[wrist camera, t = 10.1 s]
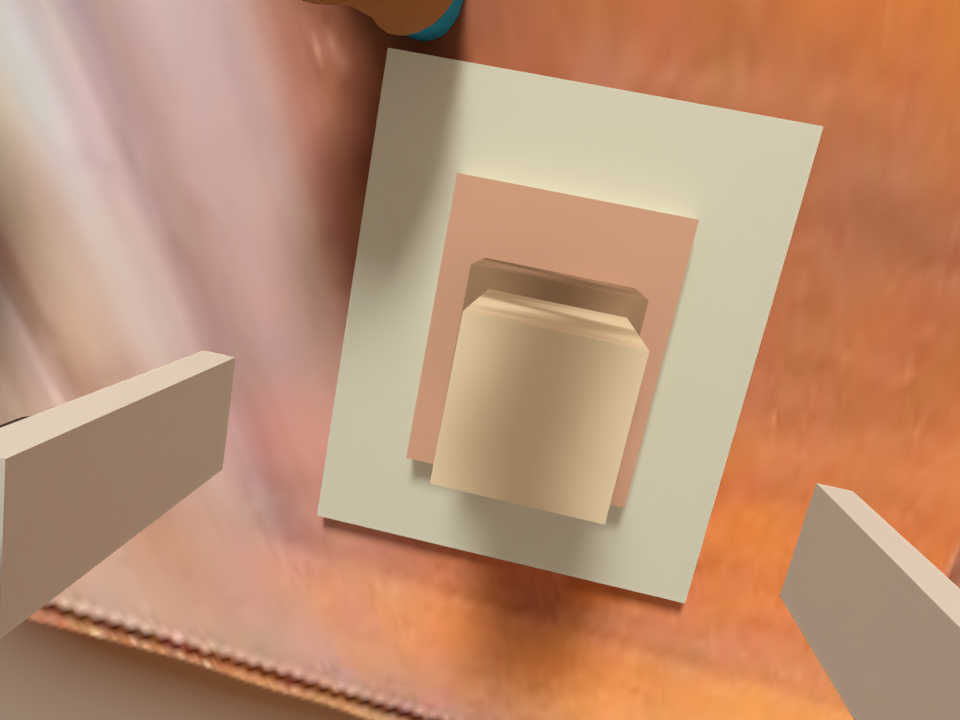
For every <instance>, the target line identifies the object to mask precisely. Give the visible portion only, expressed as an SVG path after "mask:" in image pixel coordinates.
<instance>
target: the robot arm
mask: <svg viewBox="0 0 960 720" xmlns="http://www.w3.org/2000/svg"><path fill="white" fill-rule="evenodd" d="M234 363H235V357H231V356H227V355H222V354H217V353H213V352H208V351H200V352H198V353H195V354H192V355H190V356H187V357H185V358H182V359H179V360H177V361H174V362H171V363H169V364H166V365H164V366H161V367H158V368H156V369H153V370H151V371H148V372H145V373H143V374H140V375H137V376H135V377H132V378H130V379H127V380H124V381H122V382H119V383H116V384H114V385H111V386H109V387H106V388H103V389H101V390H98V391H96V392H93V393H90V394H88V395H85V396H82V397H80V398H77V399H75V400H72V401H69V402H67V403H64V404H61V405H59V406H56V407H54V408H51V409H48V410H46V411H43V412H41V413H38V414H35V415H33V416H27V417H22V418H19V419H16V420H13V421H11V422H8V423H5V424H3V425H0V639H1V638H2V637H3V636H5V635H6V634H7V633H8V632H10V631H11V630H13V629H14V628H15V627H16V626H18V625H19V624H20V623H22V622H23V621H24V620H26V619H27V618H28V617H30V616H31V615H32V614H33V613H35V612H36V611H37V610H39V609H40V608H41V607H43V606H44V605H45V604H47V603H48V602H49V601H51V600H52V599H53V598H54V597H56V596H57V595H58V594H60V593H61V592H62V591H64V590H65V589H66V588H68V587H69V586H70V585H71V584H73V583H74V582H75V581H77V580H78V579H79V578H81V577H82V576H83V575H85V574H86V573H87V572H88V571H90V570H91V569H92V568H94V567H95V566H96V565H98V564H99V563H100V562H102V561H103V560H104V559H105V558H107V557H108V556H109V555H111V554H112V553H113V552H115V551H116V550H117V549H119V548H120V547H121V546H122V545H124V544H125V543H126V542H128V541H129V540H130V539H132V538H133V537H134V536H136V535H137V534H138V533H140V532H141V531H142V530H143V529H145V528H146V527H147V526H149V525H150V524H151V523H153V522H154V521H155V520H157V519H158V518H159V517H160V516H162V515H163V514H164V513H166V512H167V511H168V510H170V509H171V508H172V507H174V506H175V505H176V504H177V503H179V502H180V501H181V500H183V499H184V498H185V497H187V496H188V495H189V494H191V493H192V492H193V491H194V490H196V489H197V488H198V487H200V486H201V485H202V484H204V483H205V482H206V481H208V480H209V479H210V478H211V477H213V476H214V475H215V474H217V473H218V472H219V471H221V470H222V469H223V460H224V452H225V443H226V434H227V425H228V416H229V407H230V399H231V390H232V381H233V372H234ZM780 597H781V598H782V600H783V602H784V603H785V605H786V607H787V608H788V610H789V612H790V613H791V615H792V617H793V618H794V620H795V622H796V623H797V625H798V627H799V628H800V630H801V632H802V633H803V635H804V637H805V638H806V640H807V642H808V643H809V645H810V647H811V648H812V650H813V652H814V653H815V655H816V657H817V658H818V660H819V662H820V663H821V665H822V667H823V668H824V670H825V672H826V673H827V675H828V677H829V678H830V680H831V682H832V683H833V685H834V687H835V688H836V690H837V692H838V693H839V695H840V697H841V698H842V700H843V702H844V703H845V705H846V707H847V708H848V710H849V712H850V713H851V715H852V717H853V718H854V720H960V589H959V588H958V587H957V586H956V585H955V584H954V583H953V582H952V581H951V580H949V579H948V578H947V577H946V576H945V575H944V574H943V573H942V572H941V571H940V570H938V569H937V568H936V567H935V566H934V565H933V564H932V563H931V562H930V561H929V560H928V559H926V558H925V557H924V556H923V555H922V554H921V553H920V552H919V551H918V550H917V549H915V548H914V547H913V546H912V545H911V544H910V543H909V542H908V541H907V540H906V539H905V538H903V537H902V536H901V535H900V534H899V533H898V532H897V531H896V530H895V529H894V528H892V527H891V526H890V525H889V524H888V523H887V522H886V521H885V520H884V519H883V518H882V517H880V516H879V515H878V514H877V513H876V512H875V511H874V510H873V509H872V508H871V507H869V506H868V505H867V504H866V503H865V502H864V501H863V500H862V499H861V498H860V497H859V496H857V495H856V494H855V493H854V492H853V491H850V490H845V489H841V488H836V487H831V486H827V485H822V484H818V483H817V484H816V487H815V490H814V493H813V496H812V499H811V502H810V505H809V508H808V511H807V514H806V518H805V521H804V524H803V527H802V530H801V533H800V536H799V539H798V542H797V545H796V548H795V551H794V554H793V557H792V560H791V563H790V566H789V570H788V573H787V576H786V579H785V582H784V585H783V588H782V591H781V594H780Z"/></svg>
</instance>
